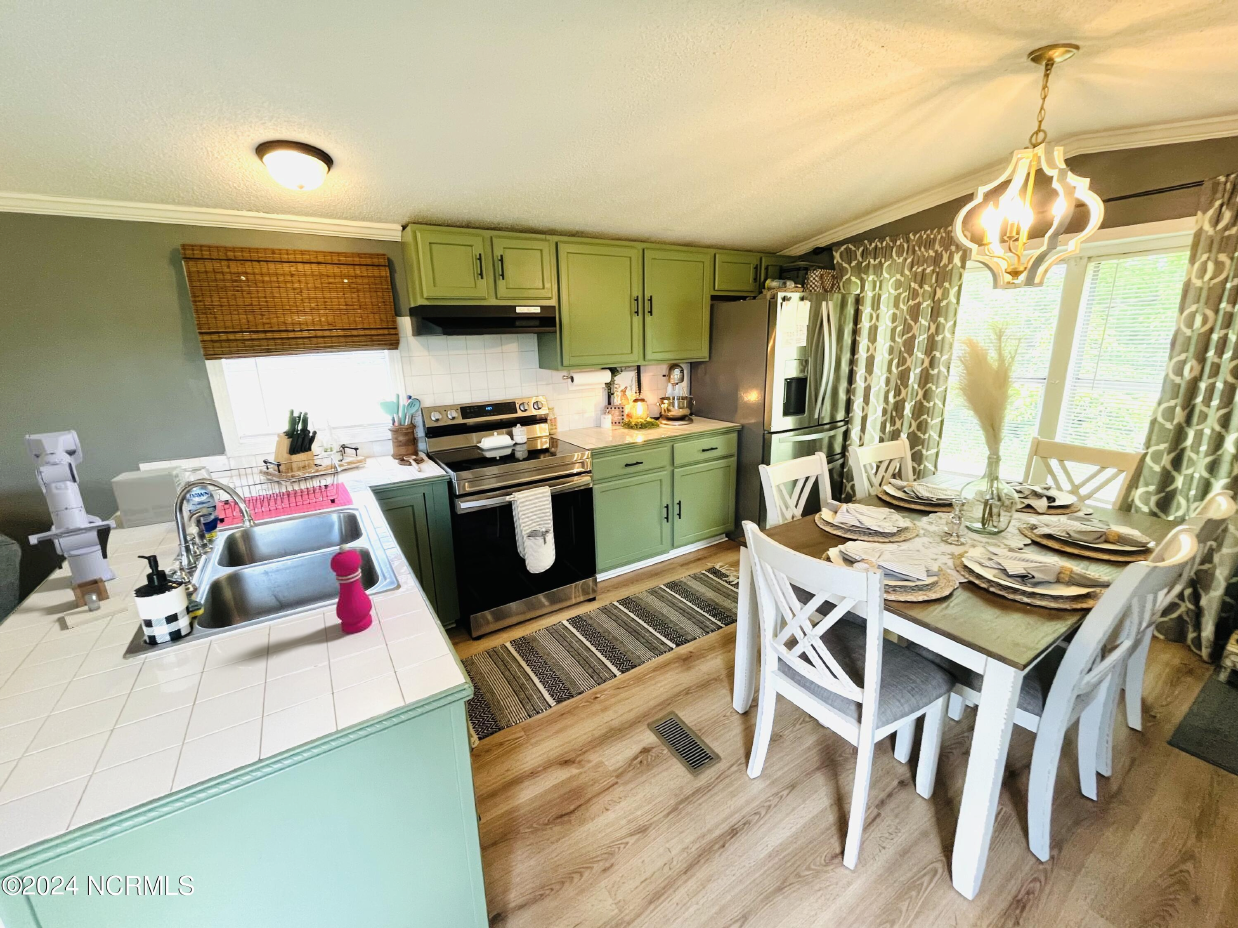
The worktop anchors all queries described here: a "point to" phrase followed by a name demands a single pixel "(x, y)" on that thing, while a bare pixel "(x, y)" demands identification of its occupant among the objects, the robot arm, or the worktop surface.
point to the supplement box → (147, 495)
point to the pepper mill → (351, 592)
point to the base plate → (94, 610)
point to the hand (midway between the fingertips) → (83, 563)
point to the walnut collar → (90, 590)
